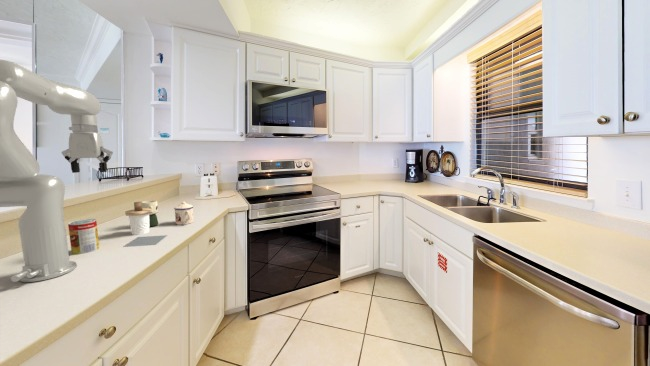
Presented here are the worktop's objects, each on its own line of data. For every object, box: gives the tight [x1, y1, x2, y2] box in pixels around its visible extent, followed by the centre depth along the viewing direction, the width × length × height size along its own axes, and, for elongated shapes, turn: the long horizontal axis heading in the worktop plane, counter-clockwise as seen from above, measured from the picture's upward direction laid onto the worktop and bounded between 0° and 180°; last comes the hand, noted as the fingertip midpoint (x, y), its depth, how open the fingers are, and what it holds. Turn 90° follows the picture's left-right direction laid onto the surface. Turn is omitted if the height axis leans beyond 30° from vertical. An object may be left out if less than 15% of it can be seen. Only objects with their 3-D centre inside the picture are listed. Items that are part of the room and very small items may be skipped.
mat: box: [122, 234, 168, 248], centre depth 109 cm, size 12×12×1 cm
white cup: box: [128, 214, 151, 236], centre depth 119 cm, size 8×8×10 cm
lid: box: [124, 201, 152, 217], centre depth 118 cm, size 10×10×5 cm
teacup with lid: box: [173, 201, 195, 226], centre depth 137 cm, size 12×9×12 cm
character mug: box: [141, 200, 159, 227], centre depth 131 cm, size 11×7×13 cm, turn 43°
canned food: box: [67, 218, 100, 255], centre depth 98 cm, size 8×8×12 cm
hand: (89, 172), depth 104 cm, fingers open, 9 cm apart
